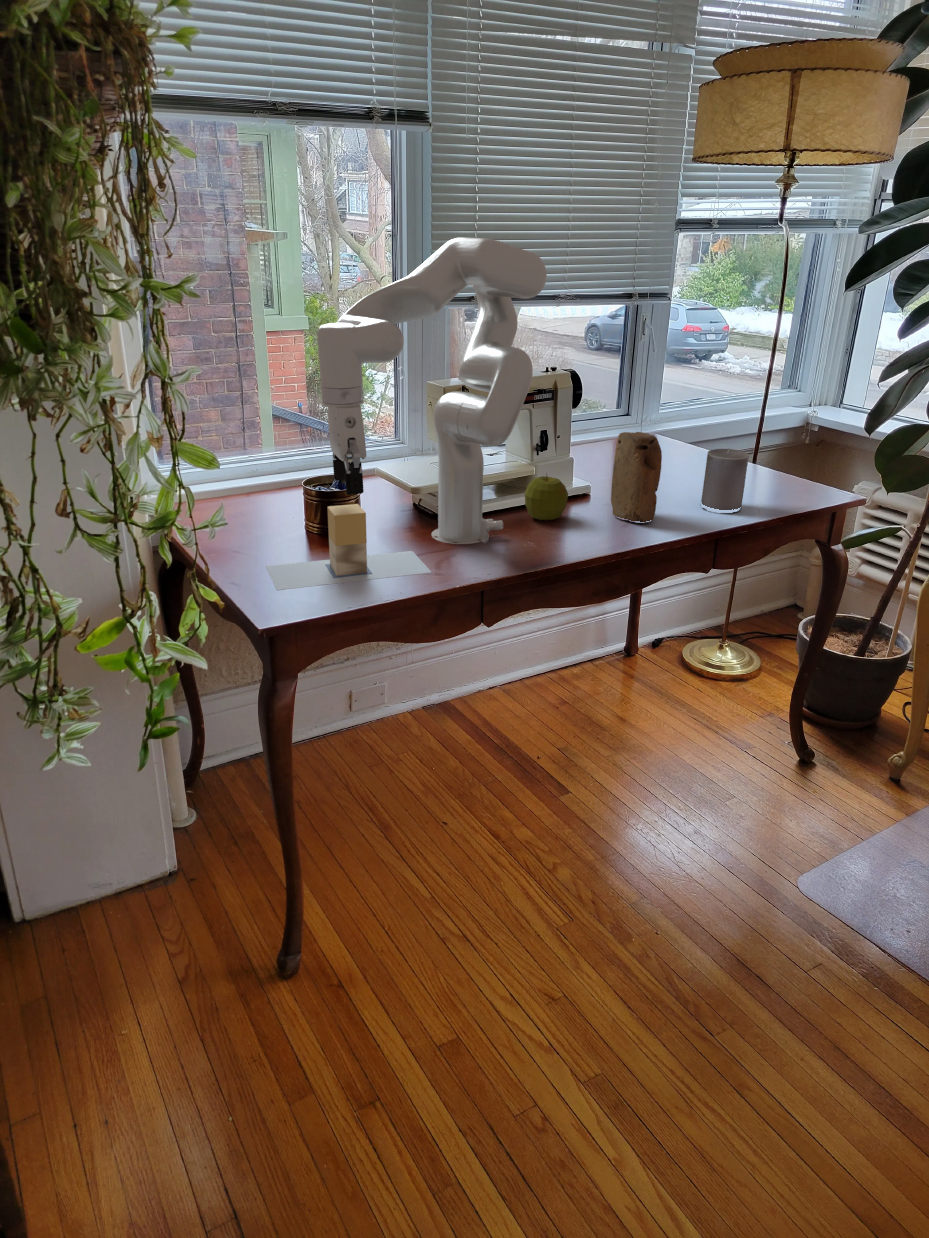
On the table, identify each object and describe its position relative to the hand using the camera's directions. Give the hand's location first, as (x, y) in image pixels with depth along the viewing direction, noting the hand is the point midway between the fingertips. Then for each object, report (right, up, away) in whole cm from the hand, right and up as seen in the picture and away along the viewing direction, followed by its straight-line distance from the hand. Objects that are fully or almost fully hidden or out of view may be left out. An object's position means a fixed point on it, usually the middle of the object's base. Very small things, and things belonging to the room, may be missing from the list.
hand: (348, 486), depth 174 cm
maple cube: (-1, -15, +6) cm, 16 cm away
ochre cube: (-1, -10, +4) cm, 10 cm away
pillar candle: (+85, +2, +52) cm, 99 cm away
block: (+61, -2, +43) cm, 75 cm away
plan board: (-1, -16, +7) cm, 18 cm away
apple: (+41, -2, +42) cm, 58 cm away
